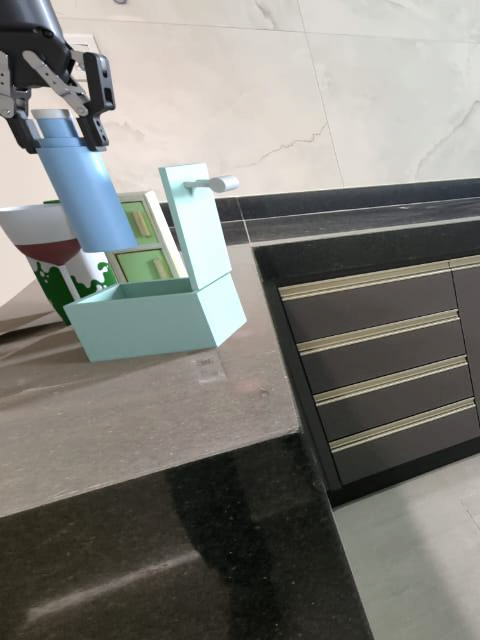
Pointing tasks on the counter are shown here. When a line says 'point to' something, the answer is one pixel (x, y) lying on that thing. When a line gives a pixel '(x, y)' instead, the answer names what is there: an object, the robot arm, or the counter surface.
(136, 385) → the counter surface
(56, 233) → the wineglass
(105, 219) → the water bottle
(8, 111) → the robot arm
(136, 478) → the counter surface
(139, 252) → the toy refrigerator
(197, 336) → the box
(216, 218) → the lid
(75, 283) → the milk carton
